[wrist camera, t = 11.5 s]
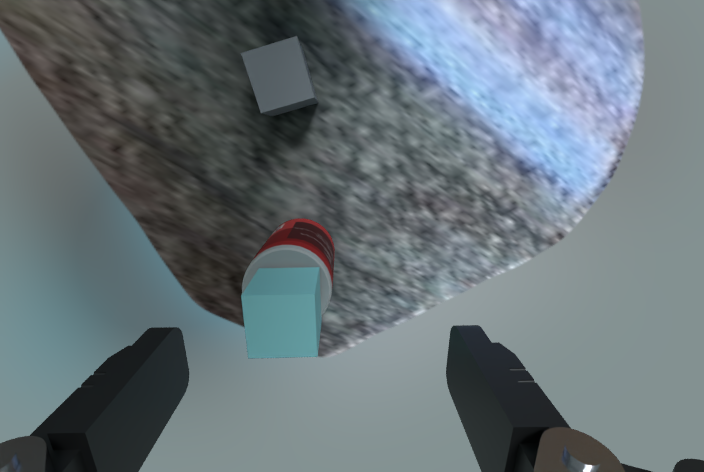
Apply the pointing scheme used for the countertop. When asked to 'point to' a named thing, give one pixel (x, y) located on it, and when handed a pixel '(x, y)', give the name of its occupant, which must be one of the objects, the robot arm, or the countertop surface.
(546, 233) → the countertop surface
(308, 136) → the countertop surface
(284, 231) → the canned food
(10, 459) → the robot arm
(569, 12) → the countertop surface
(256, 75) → the slate block
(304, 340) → the teal block
